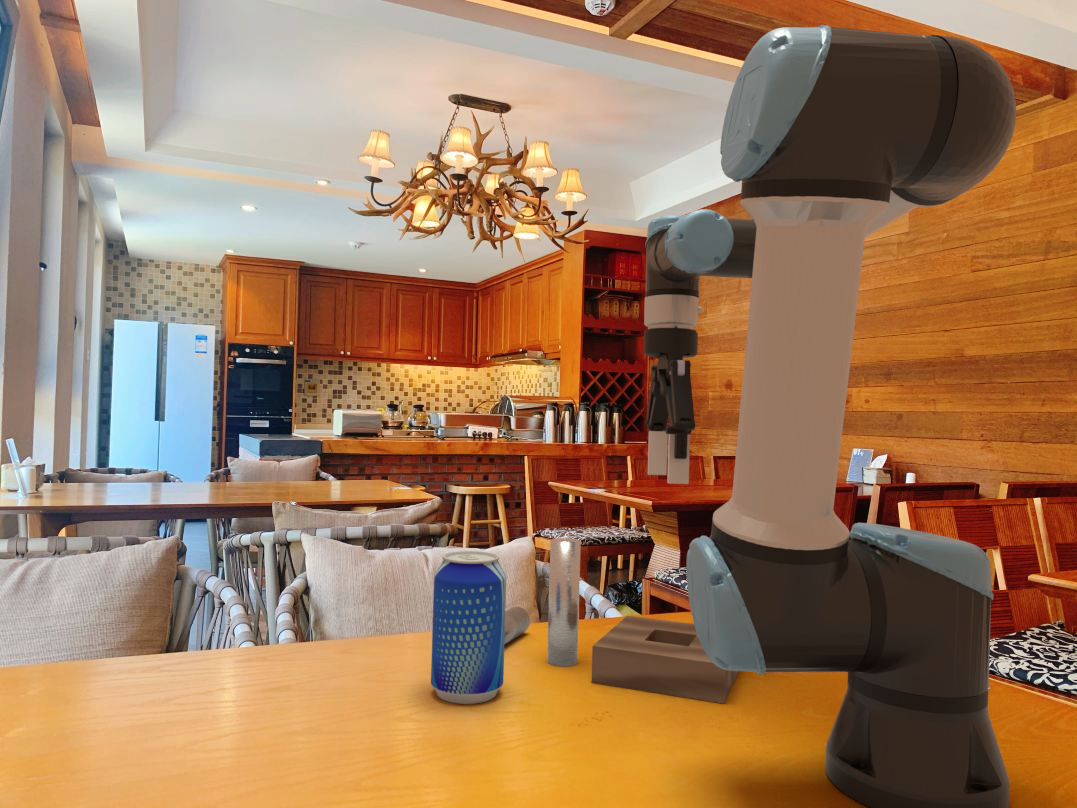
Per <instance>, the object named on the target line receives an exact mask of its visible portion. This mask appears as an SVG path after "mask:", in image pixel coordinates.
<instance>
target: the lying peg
mask: <svg viewBox="0 0 1077 808" xmlns="http://www.w3.org/2000/svg"><path fill="white" fill-rule="evenodd" d="M530 624H531V619H530V615H529V613H528V611H527V610H525V609H524V607H521V606H513V607H510V608H508V609H507V610H505V641H504V646H505V645H507V644H508V643H510V642H511V641H513V640H515V639H516V638H518V637H519V636H521V635H523V634H525V633H526V632H527V631H528V629H529V628H530Z"/></svg>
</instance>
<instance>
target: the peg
mask: <svg viewBox="0 0 1077 808" xmlns="http://www.w3.org/2000/svg"><path fill="white" fill-rule="evenodd" d="M549 543H550V546H549V547H550V549H549V579H548V584H549V585H548V613H547V614H548V615H547V616H548V617H547V620H548V621H547V647H546V649H547V651H546V653H547V654H546V656H547V657H546V662H547V663H548V664H549V665H551V666H554V667H562V668H563V667H572V666H575V665H577V664H578V653H579V652H578V651H579V650H578V649H579V644H578V643H579V618H580V617H579V616H580V615H579V612H580V610H579V609H580V608H579V607H580V584H581V583H580V582H581V581H580V576H581V573H580V572H581V545H582V543H581V540H580V539H578V538H576V539H575V538H570V537H565V538H564V537H561V538H560V537H559V538H557V537H556V538H552V539H550V542H549Z"/></svg>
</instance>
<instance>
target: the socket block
mask: <svg viewBox="0 0 1077 808" xmlns="http://www.w3.org/2000/svg"><path fill="white" fill-rule="evenodd" d="M591 649H592V651H591V653H592V655H591V683H592V684H593V683H594V684H598V685H599V684H600V685H605V686H611V687H618V688H625V689H631V690H636V691H643V692H648V693H649V692H650V693H653V694H656V693H657V694H662V695H667V696H673V697H679V698H680V697H681V698H686V699H693V700H700V701H705V702H711V703H717V704H718V703H719V704H722V705H723V704H725V702H726V700H727V698H728V695H729V693H730V691H731V689H732V687H733V684H734V683H735V681H736V678H737V676H738V674H739V672H740V671H729V670H724V669H721V668H719V667H717V666H716V665H715V664H714V663H712V662H711V660H710V659H709V658H708V657H707V655H706V654H705V652H704V650H703V648H702V646H701V643H700V641H699V638H698V635H697V632H696V629H695V625H694V623H688V622H682V621H674V620H673V621H672V620H667V619H666V620H664V619H656V618H649V617H641V616H633V615H626V616H625V617H624V618H622V620H620V621H619V622H618V623H617V624H616V625H615V626H613V628H611V629H609V631H608V632H607V633H605V634H603V636H602V637H600V639H598V640H597V641H596V642H595V643H593V645H592V648H591Z"/></svg>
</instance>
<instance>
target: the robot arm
mask: <svg viewBox="0 0 1077 808" xmlns="http://www.w3.org/2000/svg"><path fill="white" fill-rule="evenodd" d="M1016 121H1017V102H1016V97H1015V91H1014V87H1013V85H1012V82H1011V80H1010V78H1009V76H1008V74H1007V72H1006V70H1005V69H1004V67H1003V66H1002V64H1001V63H1000V62H999V61H998V60H997V59H995V57H994V56H993V55H992V54H991V53H989V52H988V51H987V50H985V49H983V48H982V47H980V46H978V45H977V44H976V43H973V42H970V41H968V40H966V39H963V38H960V37H954V36H950V35H949V36H948V35H936V34H931V35H922V34H910V33H902V32H901V33H899V32H890V31H889V32H888V31H879V30H869V29H868V30H867V29H858V28H857V29H856V28H855V29H854V28H846V27H837V26H836V27H834V26H830V25H826V24H824V25H823V24H820V25H817V26H814V27H799V26H798V27H797V26H796V27H794V26H793V27H792V26H791V27H789V26H787V27H786V26H785V27H779V28H774V29H773V30H770V31H768V32H767V33H766V34H764V35H763V36H761V37H760V38H759V39H758V41H757V42H756V43H755V44H754V46H753V47H752V48H751V49H750V51H749V52H748V54H747V56H746V57H745V60H744V62H742V65H741V68H740V70H739V73H738V75H737V77H736V79H735V82H734V84H733V86H732V90H731V93H730V96H729V99H728V103H727V108H726V110H725V116H724V119H723V125H722V131H721V138H720V146H719V147H720V150H719V152H720V155H721V160H720V165H721V170H722V171H723V174H724V175H725V176H726V177H727V178H729V179H731V180H732V181H733V182H736V183H740V182H741V189H740V201H739V202H740V203H739V205H740V206H741V207H742V208H743V210H744V211H745V212H746V213H747V215H748V216H749V217H750V218H732V217H725V216H724V215H722V214H721V213H719V212H717V211H715V210H712V209H707V208H701V209H695V210H693V211H690V212H688V213H687V214H684V215H683V214H681V215H680V214H670V215H669V214H668V215H662V216H659V217H656V218H655V217H654V218H653V219H652V220H651V221H649V223H648V226H647V235H646V240H645V244H644V245H645V250H646V252H645V255H646V258H645V259H646V261H645V267H646V268H645V297H644V313H643V314H644V315H643V316H644V317H643V318H644V319H643V320H644V322H643V324H644V326H645V327H647V329H645V331H644V333H643V354H644V355H645V356H646V357H649V358H650V357H651V358H657V364H652V365H651V368H650V369H651V379H650V388H649V396H648V405H647V413H646V417H645V418H646V420H645V425H646V426H647V429H648V443H647V444H648V445H647V446H648V449H647V475H648V476H653V475H654V476H667V477H666V478H667V480H666V482H667V484H671V485H672V484H673V485H681V484H682V485H689V483H690V482H689V481H690V478H689V477H690V447H691V444H690V441H691V435H692V431H694V430H695V429H696V421H695V411H694V403H693V393H692V392H693V391H692V390H693V389H692V379H691V365H692V363H691V361H690V360H689V358H694V357H696V356H697V355H698V348H699V347H698V346H699V345H698V343H699V342H698V341H699V339H698V338H699V336H698V335H699V333H698V332H697V330H695V329H694V328H696V327H697V326H698V323H699V314H700V313H702V312H703V307H702V306H701V305H699V298H700V297H699V296H700V277H710V278H711V277H712V278H713V277H714V278H735V279H737V278H739V279H751V286H750V297H749V308H748V315H747V316H748V319H747V328H746V330H747V331H746V338H745V339H746V340H745V352H744V362H743V371H742V385H741V394H740V395H741V396H740V406H739V414H738V415H739V416H738V418H739V419H738V428H737V440H736V450H735V461H734V472H733V482H732V493H731V497H730V499H728V501H727V502H725V503H724V504H722V505H721V506H720V507H718V508H717V509H716V510H715V511H714V512H713V514H712V522H711V523H712V524H711V533H710V536H709V537H708V536H707V535H701V536H700V537H696V538H694V539H693V540H692V541H691V542H690V543H689V546H688V547H689V549H688V550H687V553H686V568H685V569H686V570H685V571H686V584H687V594H688V602H689V607H690V612H691V617H692V620H693V621H692V622H693V624H694V625H695V629H696V632H697V635H698V638H699V641H700V643H701V646H702V648H703V650H704V652H705V654H706V655H707V657H708V658H709V659H710V660H711V662H712V663H714V664H715V665H716V666H717V667H719V668H721V669H724V670H729V671H739V672H747V673H748V672H751V673H754V672H755V674H757V675H765V674H766V673H847V687H846V691H845V694H844V696H843V699H842V701H841V705H840V707H839V709H838V713H837V715H836V718H835V721H834V723H833V725H832V727H831V730H830V733H829V736H828V739H827V741H826V746H825V766H824V767H825V773H826V775H827V778H828V779H829V780H830V782H831V783H832V785H834V786H835V787H836V788H838V790H840V791H842V793H844V794H845V795H846V796H849V797H850V798H852V799H853V800H855V801H857V802H859V803H861V804H864V805H866V806H867V807H870V808H1009V806H1010V780H1009V775H1008V772H1007V768H1006V766H1005V763H1004V760H1003V756H1002V753H1001V750H1000V747H999V743H998V741H997V738H996V733H995V732H994V728H993V724H992V722H991V719H990V718H991V717H990V715H989V688H990V687H989V686H990V685H989V684H990V649H991V648H990V647H991V646H990V645H991V612H992V611H991V610H992V609H991V608H992V605H991V604H992V601H993V600H994V593H993V588H992V587H993V585H992V584H993V583H992V571H991V562H990V558H989V556H988V555H987V553H986V552H985V551H984V550H983V549H982V548H981V547H979V546H978V545H976V544H974V543H971V542H968V541H964V540H961V539H958V538H957V539H956V538H952V537H949V536H946V535H945V536H944V535H939V534H934V533H930V532H926V531H921V530H920V531H919V530H914V529H909V528H904V527H898V526H891V525H885V524H878V523H871V522H870V523H869V522H857V523H856V522H855V523H854V524H853V525H852V526H851V530H849V528H848V527H847V525H845V524H844V523H843V521H842V520H841V519H840V518H839V517H838V515H836V513H835V510H834V509H835V508H834V507H835V497H836V489H837V479H838V475H839V474H838V473H839V464H840V463H839V462H840V455H841V447H842V438H843V429H844V422H845V421H844V420H845V414H846V413H845V411H846V406H847V405H846V404H847V403H846V401H847V395H848V387H849V386H848V385H849V377H850V370H851V361H852V360H851V359H852V352H853V351H852V350H853V344H854V333H855V328H856V327H855V326H856V318H857V317H856V316H857V310H858V309H857V308H858V299H859V290H860V282H861V274H862V266H863V258H864V257H863V256H864V251H865V250H864V249H865V240H866V238H867V237H869V236H871V235H872V234H873V235H874V233H876V232H878V231H879V230H881V229H883V228H884V227H887V226H888V225H889V224H891V223H893V222H894V221H896V220H898V219H899V218H902V217H903V216H904V215H907V214H908V213H910V212H911V211H913V210H915V209H916V208H919V207H923V208H924V207H925V208H930V207H936V206H940V205H943V204H946V203H948V202H950V201H952V200H954V199H956V198H958V197H959V196H962V195H963V194H965V193H967V192H968V191H970V190H971V189H972V188H974V187H975V186H976V185H978V184H979V183H981V182H982V181H984V180H985V178H986V177H988V176H989V175H990V174H991V172H993V171H994V169H995V168H996V167H997V165H999V163H1000V161H1002V159H1003V157H1004V156H1005V154H1006V152H1007V150H1008V148H1009V146H1010V145H1011V142H1012V138H1013V135H1014V131H1015V127H1016V123H1017V122H1016ZM684 358H685V359H687V358H688V360H684ZM668 420H669V421H668ZM668 422H669V423H668Z"/></svg>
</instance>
